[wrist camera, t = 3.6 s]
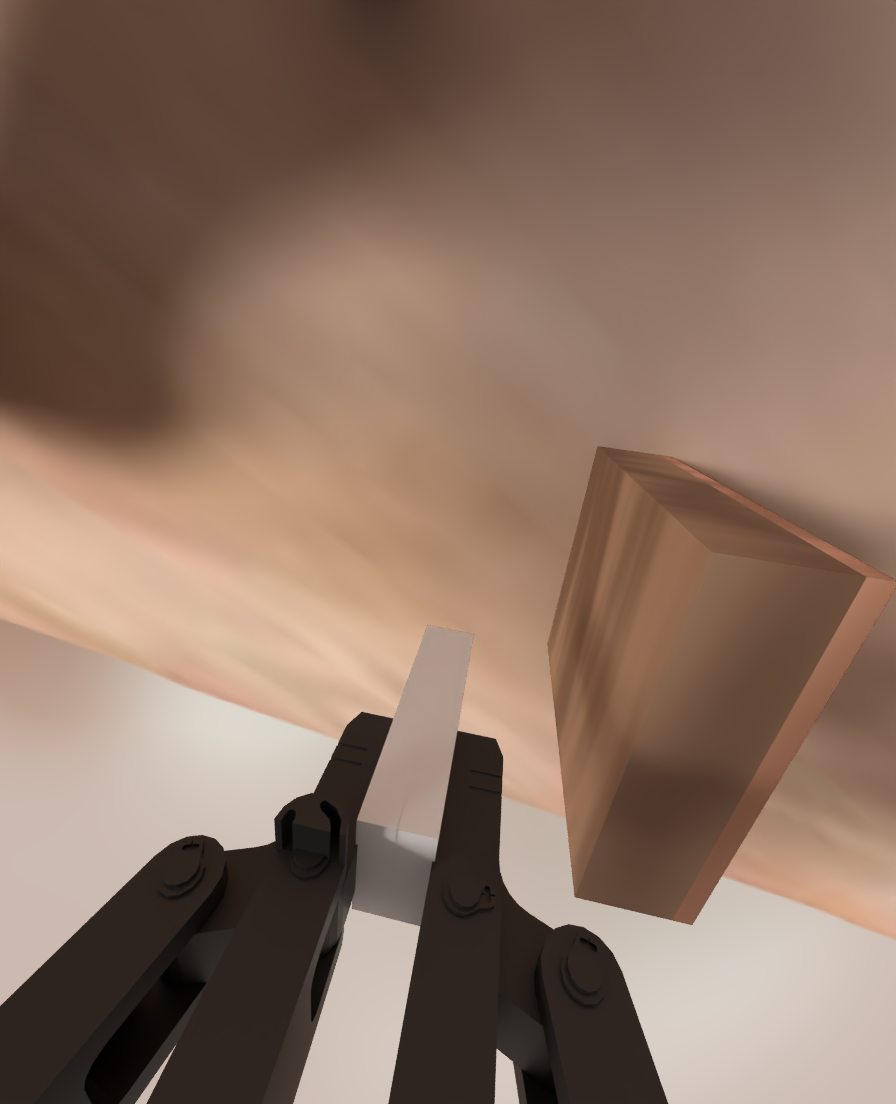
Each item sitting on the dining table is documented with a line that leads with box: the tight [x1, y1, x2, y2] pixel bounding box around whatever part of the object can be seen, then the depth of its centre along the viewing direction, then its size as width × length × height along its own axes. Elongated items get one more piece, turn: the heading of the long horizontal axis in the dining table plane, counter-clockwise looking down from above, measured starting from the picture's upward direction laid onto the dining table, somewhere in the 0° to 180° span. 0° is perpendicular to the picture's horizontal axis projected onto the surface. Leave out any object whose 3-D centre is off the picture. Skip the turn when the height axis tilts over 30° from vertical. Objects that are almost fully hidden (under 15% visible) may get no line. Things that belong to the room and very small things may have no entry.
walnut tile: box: [548, 447, 896, 925], centre depth 18 cm, size 4×12×14 cm, turn 173°
